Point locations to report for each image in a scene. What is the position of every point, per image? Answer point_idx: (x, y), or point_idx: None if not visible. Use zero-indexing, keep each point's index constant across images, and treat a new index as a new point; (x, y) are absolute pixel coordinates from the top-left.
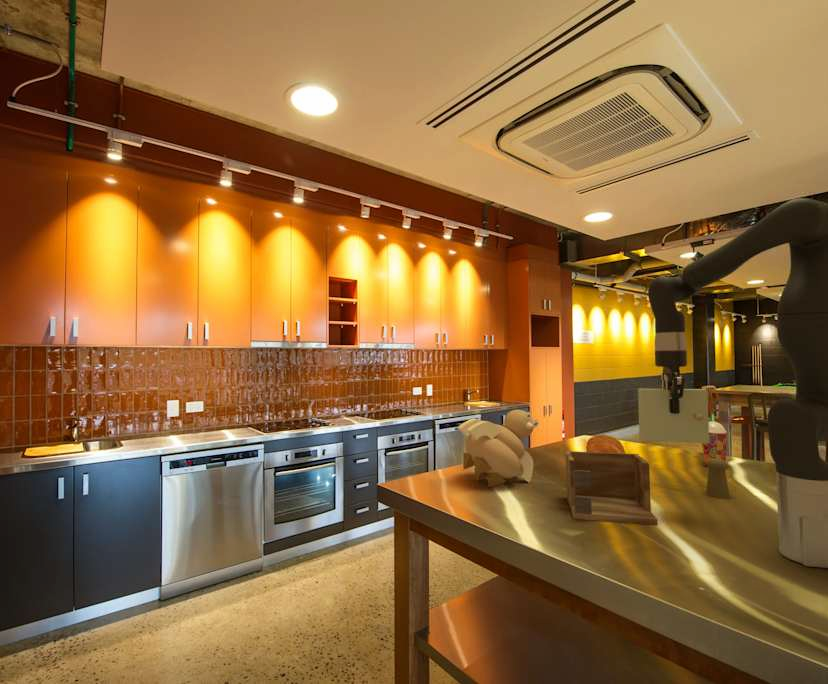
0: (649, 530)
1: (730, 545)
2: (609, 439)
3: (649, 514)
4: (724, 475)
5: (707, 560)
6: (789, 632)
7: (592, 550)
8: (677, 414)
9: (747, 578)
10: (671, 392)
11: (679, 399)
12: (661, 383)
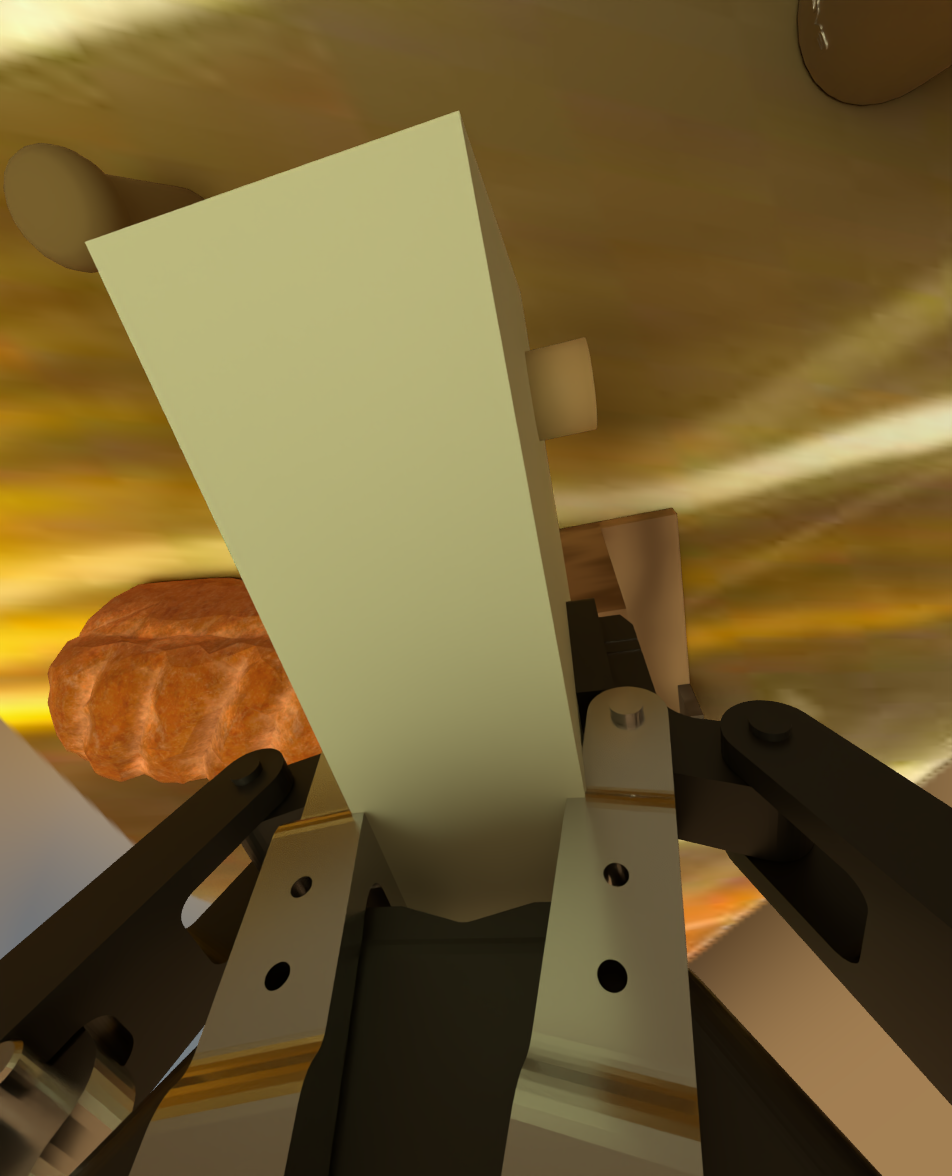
0: (728, 533)
1: (811, 292)
2: (183, 736)
3: (635, 534)
4: (124, 184)
5: None
6: None
7: (920, 670)
8: (566, 600)
9: None
10: (777, 894)
11: (638, 693)
12: (186, 1040)
